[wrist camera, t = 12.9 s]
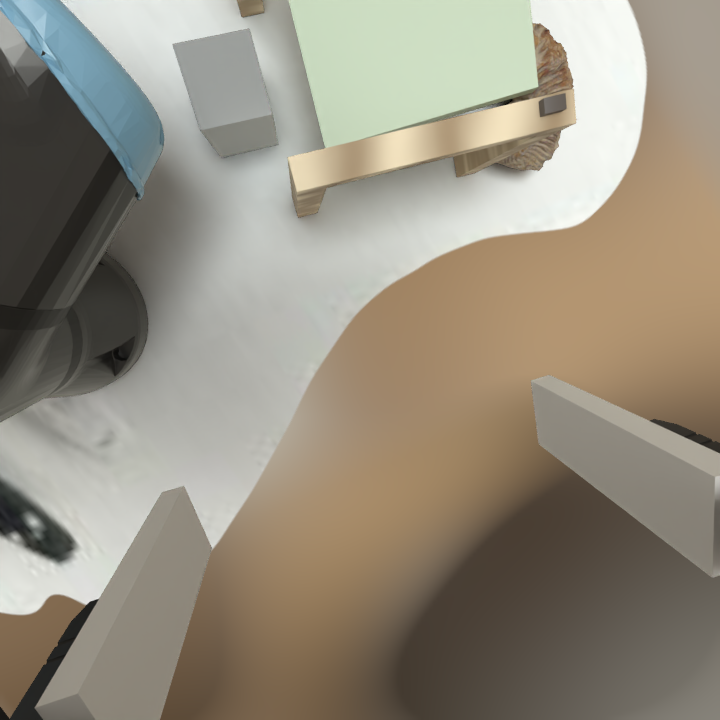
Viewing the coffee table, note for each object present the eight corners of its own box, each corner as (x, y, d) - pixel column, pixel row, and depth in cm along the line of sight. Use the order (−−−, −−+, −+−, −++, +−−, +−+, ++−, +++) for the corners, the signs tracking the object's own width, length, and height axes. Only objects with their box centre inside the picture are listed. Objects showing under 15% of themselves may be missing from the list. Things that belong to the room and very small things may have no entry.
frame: (298, 217, 38) (297, 190, 23) (234, -11, 33) (178, -240, 18) (474, 172, 40) (582, 120, 25) (441, -52, 34) (553, -297, 19)
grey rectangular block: (272, 114, 29) (278, 144, 36) (249, 28, 27) (260, 79, 35) (200, 130, 28) (221, 157, 36) (172, 44, 27) (200, 92, 34)
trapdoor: (331, 160, 29) (325, 149, 26) (275, -69, 25) (259, -117, 22) (518, 105, 27) (538, 86, 24) (490, -149, 23) (509, -215, 20)
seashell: (516, 174, 44) (608, 134, 36) (463, 208, 40) (553, 172, 32) (474, 47, 40) (568, -33, 31) (410, 71, 36) (498, -13, 27)
